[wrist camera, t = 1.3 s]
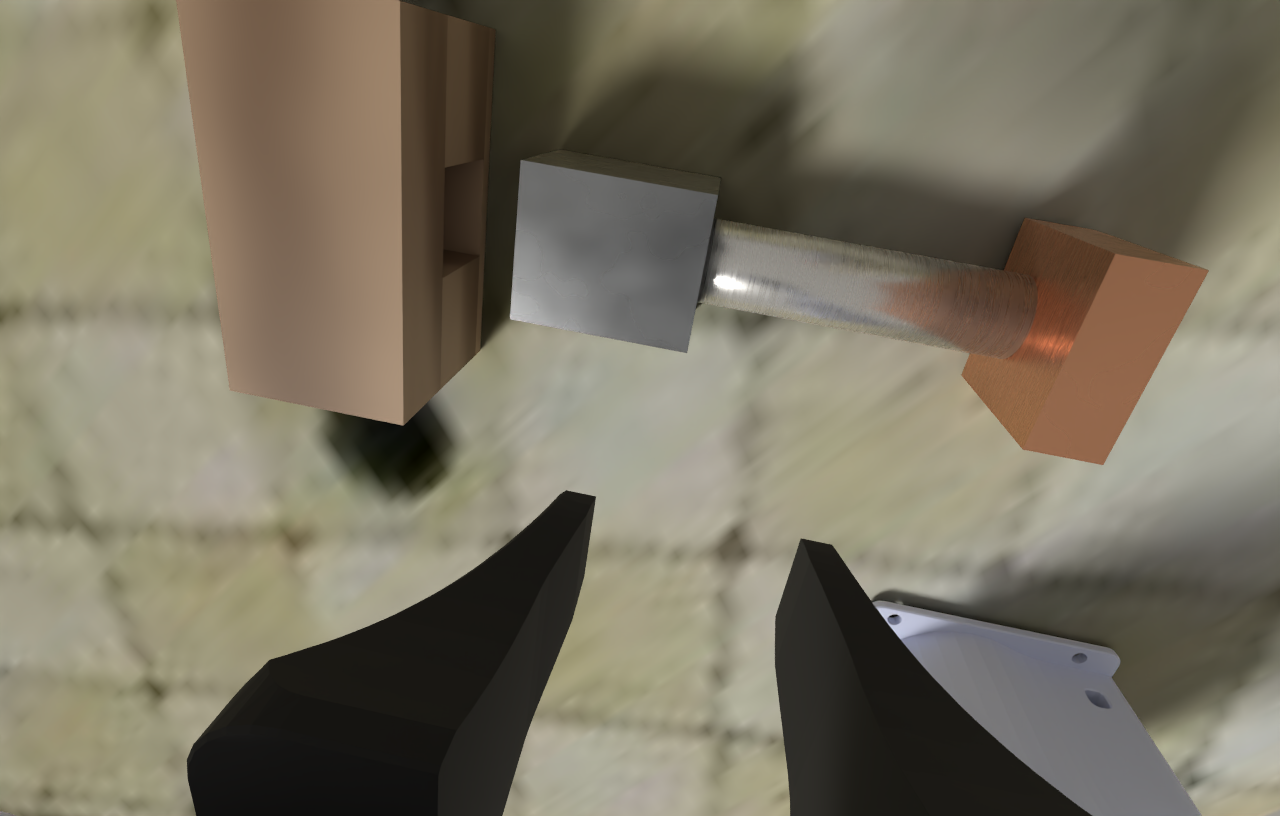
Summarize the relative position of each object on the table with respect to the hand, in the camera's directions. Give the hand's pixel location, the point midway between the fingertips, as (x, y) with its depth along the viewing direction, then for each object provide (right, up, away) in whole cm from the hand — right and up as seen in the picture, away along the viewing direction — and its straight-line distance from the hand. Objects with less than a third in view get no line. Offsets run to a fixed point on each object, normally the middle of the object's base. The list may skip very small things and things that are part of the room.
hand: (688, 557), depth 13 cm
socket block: (-8, +10, +8) cm, 15 cm away
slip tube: (+4, +7, +7) cm, 11 cm away
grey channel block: (-1, +9, +8) cm, 12 cm away
